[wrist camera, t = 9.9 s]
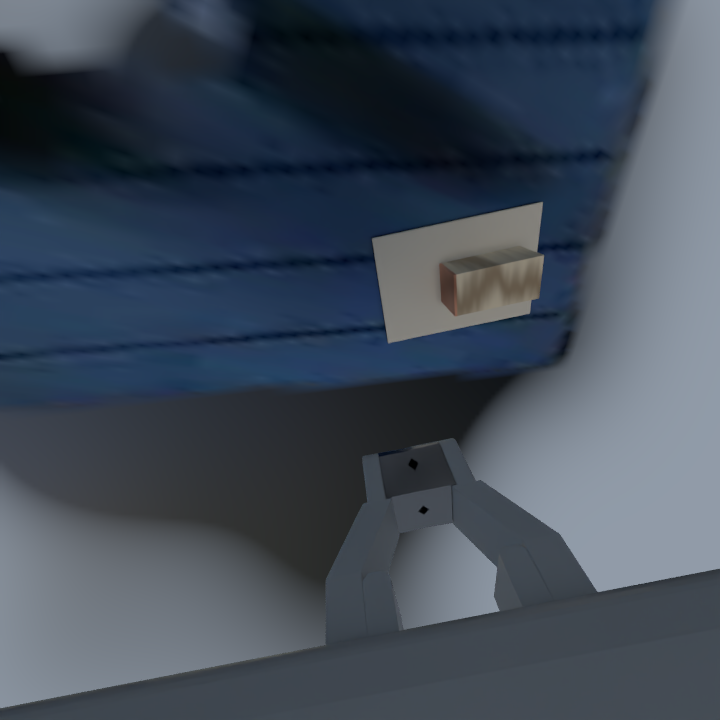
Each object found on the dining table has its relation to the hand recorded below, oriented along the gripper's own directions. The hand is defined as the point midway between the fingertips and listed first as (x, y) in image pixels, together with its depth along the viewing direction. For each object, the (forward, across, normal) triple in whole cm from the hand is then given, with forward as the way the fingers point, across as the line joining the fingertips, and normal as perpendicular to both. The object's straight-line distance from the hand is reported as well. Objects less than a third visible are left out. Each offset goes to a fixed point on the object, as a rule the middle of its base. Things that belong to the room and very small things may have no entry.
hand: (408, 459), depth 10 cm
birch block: (+28, -11, +6) cm, 31 cm away
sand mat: (+31, -13, +6) cm, 34 cm away
